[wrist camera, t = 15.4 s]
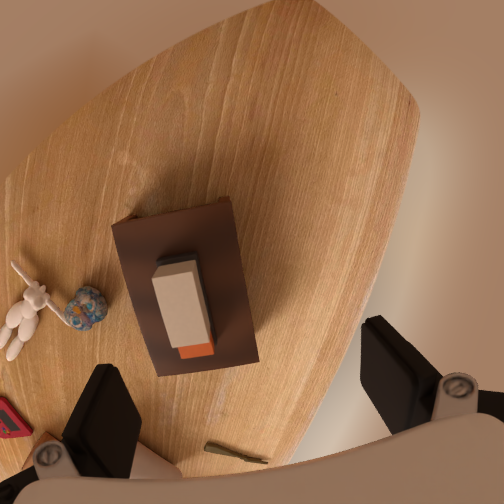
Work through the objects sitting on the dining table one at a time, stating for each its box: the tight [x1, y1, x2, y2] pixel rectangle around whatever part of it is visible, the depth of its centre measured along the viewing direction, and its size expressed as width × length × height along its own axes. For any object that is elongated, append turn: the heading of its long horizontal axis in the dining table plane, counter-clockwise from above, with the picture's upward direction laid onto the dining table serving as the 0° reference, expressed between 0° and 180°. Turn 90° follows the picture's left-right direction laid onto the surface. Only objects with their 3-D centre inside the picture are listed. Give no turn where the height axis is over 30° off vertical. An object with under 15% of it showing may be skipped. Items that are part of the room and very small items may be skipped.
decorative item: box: [22, 432, 60, 471], centre depth 41 cm, size 7×7×20 cm
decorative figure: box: [0, 260, 69, 361], centre depth 35 cm, size 4×12×18 cm
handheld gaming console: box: [0, 397, 33, 439], centre depth 40 cm, size 10×1×15 cm
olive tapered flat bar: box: [204, 442, 268, 464], centre depth 46 cm, size 12×2×1 cm, turn 60°
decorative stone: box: [64, 286, 107, 331], centre depth 35 cm, size 6×4×5 cm
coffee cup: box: [130, 442, 182, 479], centre depth 40 cm, size 10×10×15 cm
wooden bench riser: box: [111, 196, 259, 377], centre depth 34 cm, size 18×12×6 cm, turn 9°
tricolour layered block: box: [152, 251, 217, 359], centre depth 29 cm, size 10×4×5 cm, turn 9°
